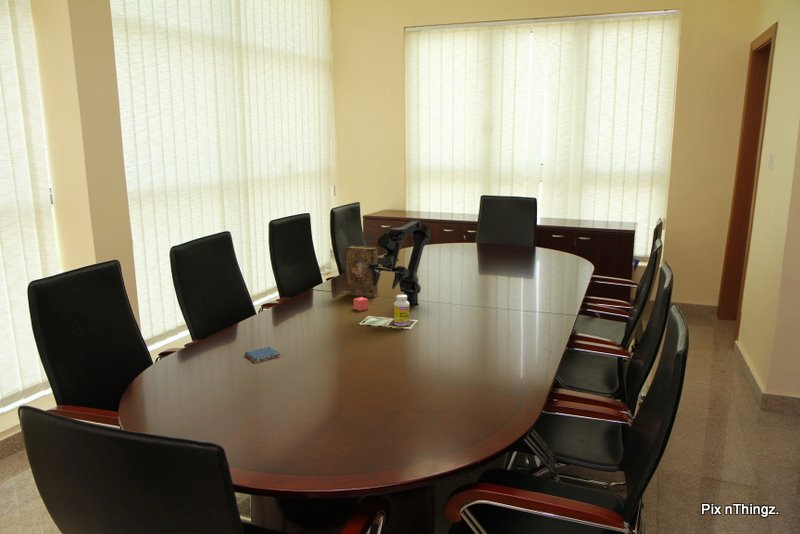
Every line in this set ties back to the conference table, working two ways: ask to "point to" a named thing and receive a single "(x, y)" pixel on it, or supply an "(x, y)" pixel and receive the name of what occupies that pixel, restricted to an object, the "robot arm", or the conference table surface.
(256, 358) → the woven mat
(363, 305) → the red die
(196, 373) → the conference table surface
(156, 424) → the conference table surface
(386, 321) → the silver picture frame
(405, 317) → the supplement bottle
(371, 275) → the book
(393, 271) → the robot arm
